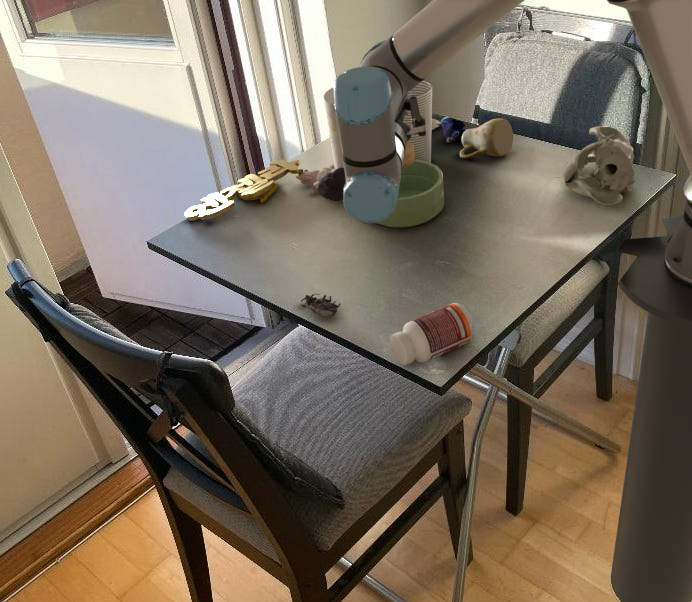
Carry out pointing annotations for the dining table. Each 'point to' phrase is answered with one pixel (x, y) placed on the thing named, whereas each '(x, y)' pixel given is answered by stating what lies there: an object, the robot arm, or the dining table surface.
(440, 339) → the pill bottle
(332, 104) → the white cylinder
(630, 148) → the animal skull
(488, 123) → the mug
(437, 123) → the stone fragment
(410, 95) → the cup
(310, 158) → the dining table surface
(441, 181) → the bowl
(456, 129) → the spaceship
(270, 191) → the logo
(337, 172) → the figurine
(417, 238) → the dining table surface
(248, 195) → the lettering
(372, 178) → the robot arm
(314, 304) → the beetle
